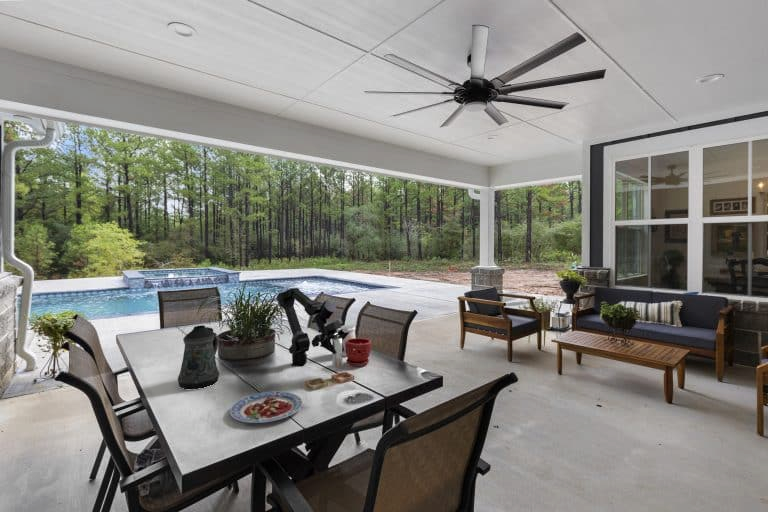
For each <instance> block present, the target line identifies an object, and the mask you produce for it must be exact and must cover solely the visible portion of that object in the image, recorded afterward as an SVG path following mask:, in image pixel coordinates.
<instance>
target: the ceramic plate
mask: <svg viewBox="0 0 768 512" xmlns="http://www.w3.org/2000/svg"><path fill="white" fill-rule="evenodd" d="M260 401H263V402H261V403H258V402H260ZM303 401H304V400H303V399H302V398H301V397H300V396H299V395H297V394H296V393H292V392H289V391H288V392H287V391H281V390H280V391H278V390H277V391H276V390H274V391H263V392H260V393H259V392H258V393H255V394H251V395H249V396H246V397H243V398H241V399H239V400H238V401H236V402H235V403H233V405H232V406H231V407H230V409H229V414H230V416H231V417H232V418H234V420H237V421H239V422H242V423H249V424H250V423H251V424H259V423H261V424H263V423H269V422H270V423H272V422H275V421H280V420H283V419H286V418H287V417H290V416H292V415H294V414H295V413H297V412H299V410H300V409H301V408H302V407H303V403H304V402H303ZM254 403H255V404H254Z"/></svg>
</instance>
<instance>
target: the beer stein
mask: <svg viewBox="0 0 768 512" xmlns="http://www.w3.org/2000/svg"><path fill="white" fill-rule="evenodd" d="M182 340H183V344H184V350H183V354H182V355H183V356H182V360H181V361H182V362H181V367H180V371H179V375H178V376H177V383H178V386H180V387H181V388H184V389H183V390H185V389H197V390H199V389H198V388H203V389H205V388H204V387H207V386H210V385H213V384H214V385H216V384H217V383H218V382H219V378H220V372H219V369H218V366H217V362H216V361H217V360H216V354H217V351H218V347H219V343H220V341H219V337H218V335H217V333H216V332H214V328H212V327H208V326H207V327H206V325H203V324H202V325H201V324H200V325H196V326H193V329H191V331H190V332H188V333H187V334H186V335H184V337H183V339H182ZM217 381H218V382H217ZM216 382H217V383H216ZM215 383H216V384H215ZM214 385H213V386H214ZM180 387H179V388H180ZM210 387H211V386H210ZM181 388H180V389H181ZM207 388H208V387H207Z"/></svg>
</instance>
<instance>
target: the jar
mask: <svg viewBox="0 0 768 512" xmlns="http://www.w3.org/2000/svg"><path fill="white" fill-rule="evenodd" d="M345 328H346V329H348V331H349V334H348V335H347V336H346V337H345V339H343V347H344V352H342V357H347V355H346V350H345V342H346V340H348V339H353V338H356V332H355V330H356V327H355V326H354V325H343V326H341V328H339V329H337V332H336V333H338V332H339V331H340V330H341V329H345Z"/></svg>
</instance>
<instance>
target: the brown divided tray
mask: <svg viewBox="0 0 768 512" xmlns="http://www.w3.org/2000/svg"><path fill="white" fill-rule="evenodd" d="M330 376H331V378H327V379H324V378H322V377H317V378H313V379H309V380H305V381H304V382H303V383H304V384H303V385H302V386H303V387H304V388H305V389H307V390H308V391H309V392H315V391H319V390H323V389H325V388H331V387H335V386H337V385H342V384H345V383H349V382H354V381H357V379H356V378H355V376H354V375H353V374H352V373H350V372H348V371H343V372H338V373H334V374H333V373H332V374H331V375H330Z"/></svg>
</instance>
